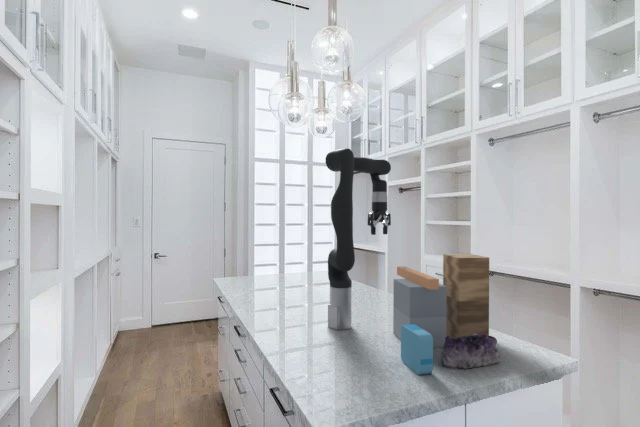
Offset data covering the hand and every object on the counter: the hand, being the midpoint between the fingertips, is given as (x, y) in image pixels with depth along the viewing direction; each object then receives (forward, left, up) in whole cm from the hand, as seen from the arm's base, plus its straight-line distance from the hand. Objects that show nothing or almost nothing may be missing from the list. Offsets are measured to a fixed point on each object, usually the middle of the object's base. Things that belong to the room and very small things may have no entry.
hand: (379, 234), depth 172 cm
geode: (-21, -58, -38) cm, 72 cm away
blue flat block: (-38, -49, -38) cm, 73 cm away
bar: (-16, -33, -16) cm, 40 cm away
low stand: (-17, -35, -38) cm, 55 cm away
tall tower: (-1, -45, -38) cm, 59 cm away
